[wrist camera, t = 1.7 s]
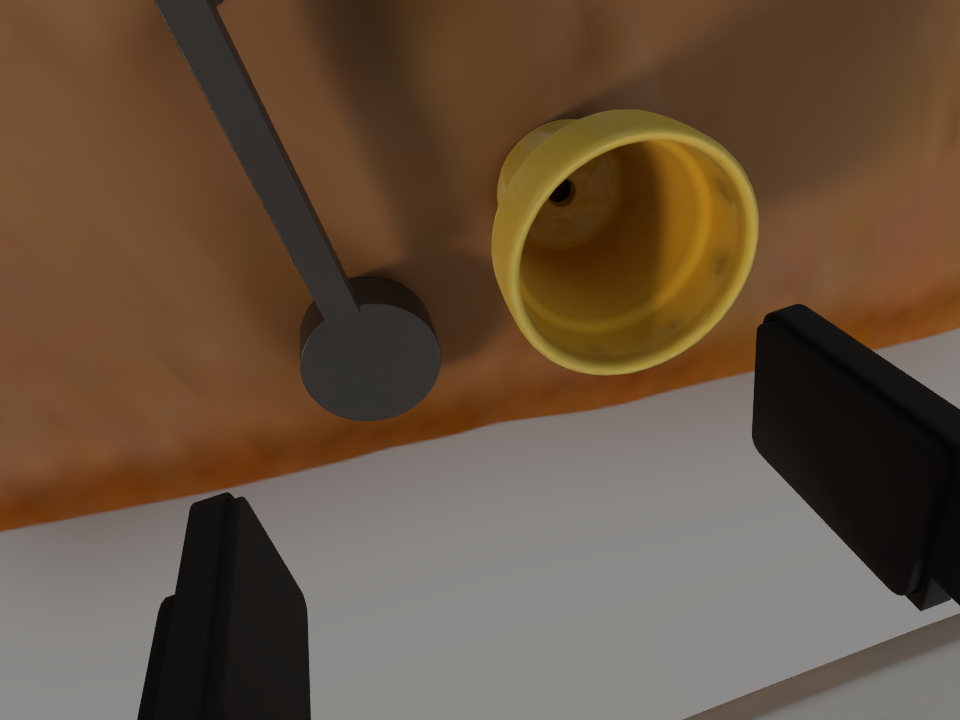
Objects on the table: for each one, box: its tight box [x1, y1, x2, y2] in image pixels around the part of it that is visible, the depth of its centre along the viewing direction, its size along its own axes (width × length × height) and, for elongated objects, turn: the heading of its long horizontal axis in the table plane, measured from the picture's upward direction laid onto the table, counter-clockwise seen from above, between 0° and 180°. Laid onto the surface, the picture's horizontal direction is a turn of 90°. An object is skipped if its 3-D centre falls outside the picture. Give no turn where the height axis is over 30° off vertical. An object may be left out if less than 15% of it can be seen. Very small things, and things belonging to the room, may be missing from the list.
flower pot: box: [492, 109, 759, 375], centre depth 29 cm, size 10×10×10 cm
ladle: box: [153, 0, 441, 421], centre depth 29 cm, size 21×7×4 cm, turn 17°
